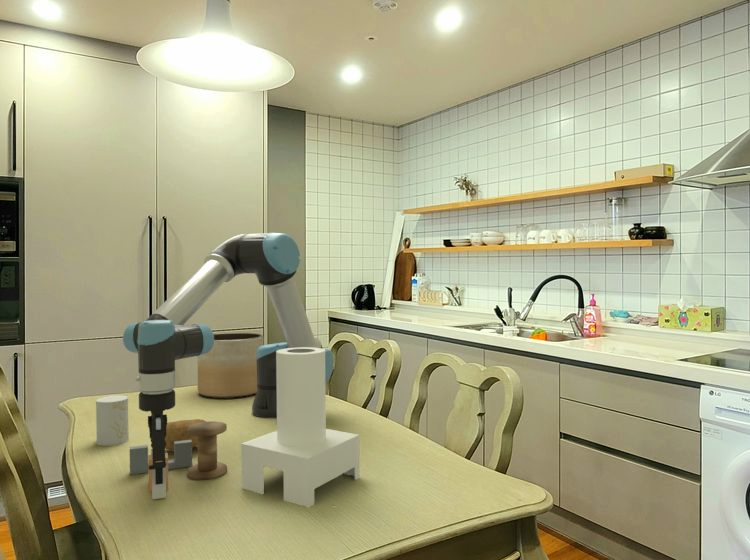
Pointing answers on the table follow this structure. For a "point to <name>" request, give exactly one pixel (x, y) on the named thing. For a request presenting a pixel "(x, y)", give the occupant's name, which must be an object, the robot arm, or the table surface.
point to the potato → (179, 433)
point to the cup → (112, 420)
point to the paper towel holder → (300, 432)
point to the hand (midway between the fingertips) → (158, 486)
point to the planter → (230, 366)
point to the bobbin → (207, 450)
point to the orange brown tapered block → (150, 462)
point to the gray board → (180, 460)
